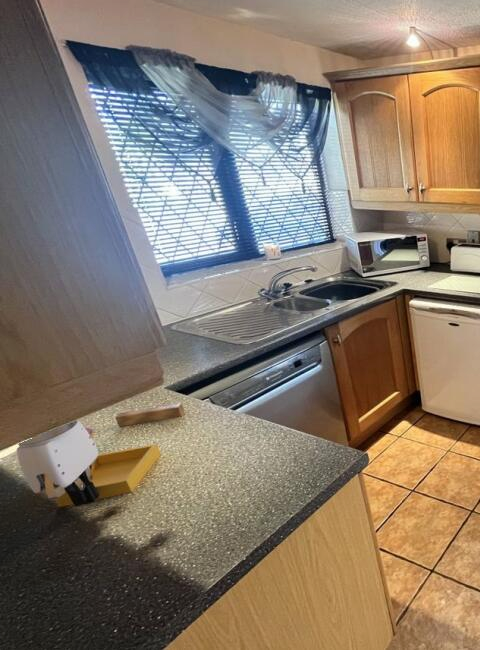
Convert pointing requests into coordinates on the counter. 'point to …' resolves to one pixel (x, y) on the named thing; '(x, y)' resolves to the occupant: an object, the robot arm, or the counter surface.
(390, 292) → the counter surface
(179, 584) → the counter surface
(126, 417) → the rail
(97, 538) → the counter surface
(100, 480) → the tray
